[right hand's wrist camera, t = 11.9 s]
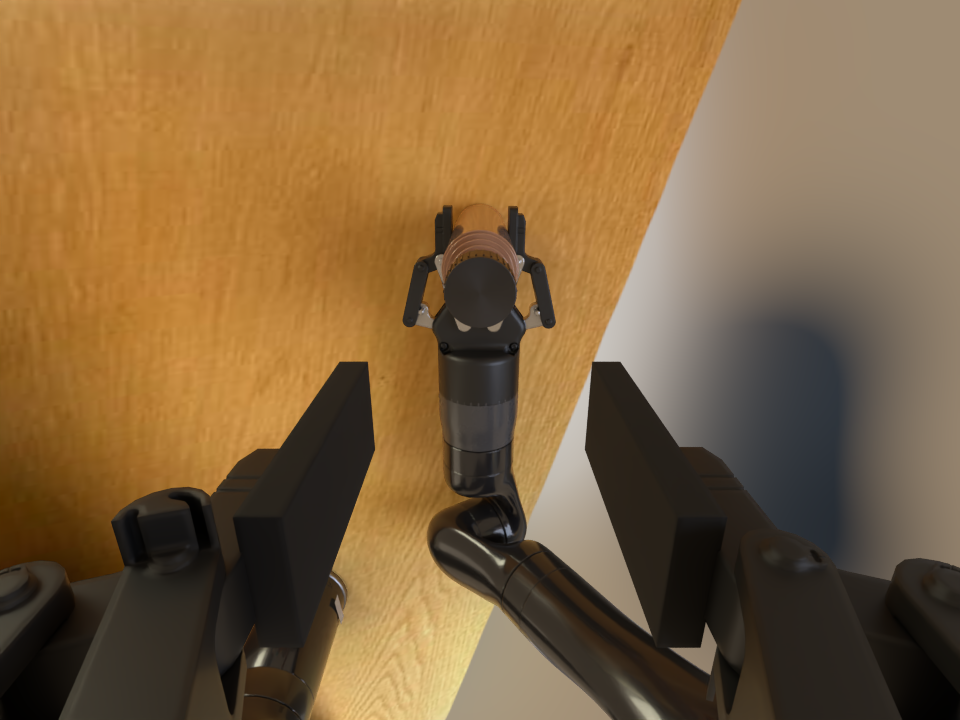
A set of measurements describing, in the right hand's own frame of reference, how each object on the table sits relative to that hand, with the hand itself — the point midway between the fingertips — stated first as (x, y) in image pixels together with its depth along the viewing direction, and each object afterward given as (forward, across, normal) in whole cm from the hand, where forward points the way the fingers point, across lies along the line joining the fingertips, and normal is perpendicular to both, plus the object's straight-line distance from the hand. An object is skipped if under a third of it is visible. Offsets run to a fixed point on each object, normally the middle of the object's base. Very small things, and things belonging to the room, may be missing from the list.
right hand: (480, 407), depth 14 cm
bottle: (+39, 0, 0) cm, 39 cm away
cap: (+13, 0, 0) cm, 13 cm away
